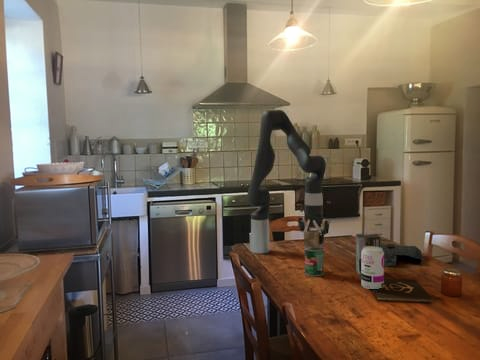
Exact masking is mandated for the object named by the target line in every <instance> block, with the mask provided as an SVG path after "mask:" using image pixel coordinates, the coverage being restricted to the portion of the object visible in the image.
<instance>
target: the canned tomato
mask: <svg viewBox="0 0 480 360" xmlns="http://www.w3.org/2000/svg"><path fill="white" fill-rule="evenodd" d="M324 257H325V256H324V247H323V246H320V247H318V248H314V247H307V246H304V273H305V275H306V276H309V277H321V276H323V275H324V274H325V272H324V270H325V268H324V262H325V261H324Z"/></svg>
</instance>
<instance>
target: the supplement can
mask: <svg viewBox="0 0 480 360" xmlns="http://www.w3.org/2000/svg"><path fill="white" fill-rule="evenodd" d="M360 277H361V279H360V280H361V282H360V283H361V286H362V288H364V289H366V290H369V289H379V288H382V287H383V288H385V265H384V252H383V250H382V248H380V247H376V246H366V247H363V250H362V251H361V275H360ZM383 288H382V289H383Z"/></svg>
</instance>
